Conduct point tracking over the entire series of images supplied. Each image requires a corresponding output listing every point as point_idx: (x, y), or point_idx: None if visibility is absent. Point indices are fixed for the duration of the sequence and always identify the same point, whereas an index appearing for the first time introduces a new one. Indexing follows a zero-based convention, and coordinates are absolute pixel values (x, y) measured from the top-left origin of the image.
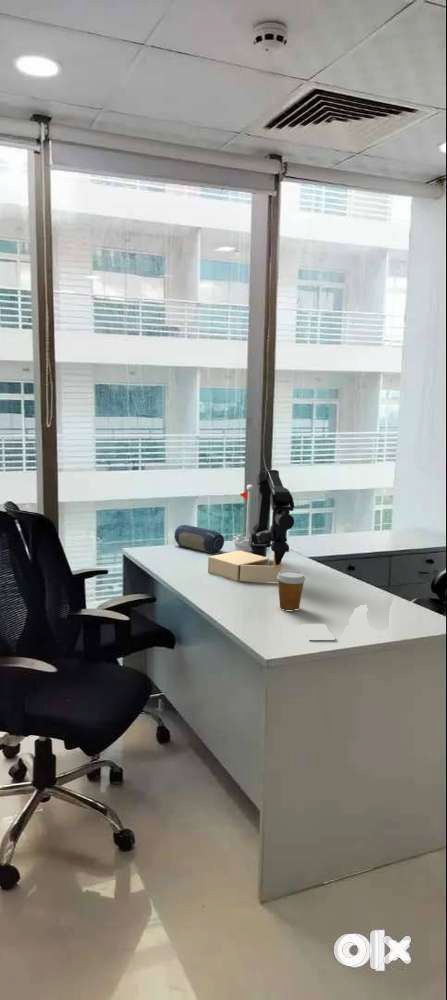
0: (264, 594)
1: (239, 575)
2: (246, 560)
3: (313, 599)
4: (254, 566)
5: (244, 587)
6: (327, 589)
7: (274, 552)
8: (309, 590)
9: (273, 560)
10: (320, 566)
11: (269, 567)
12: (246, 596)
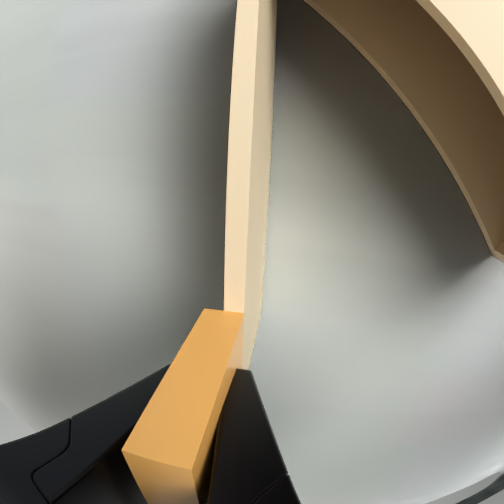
0: (19, 161)
1: (410, 4)
2: (499, 1)
3: (30, 371)
4: (238, 21)
5: (127, 27)
6: None
7: (39, 488)
8: None
9: (210, 366)
10: (493, 470)
11: (229, 249)
12: (3, 75)
